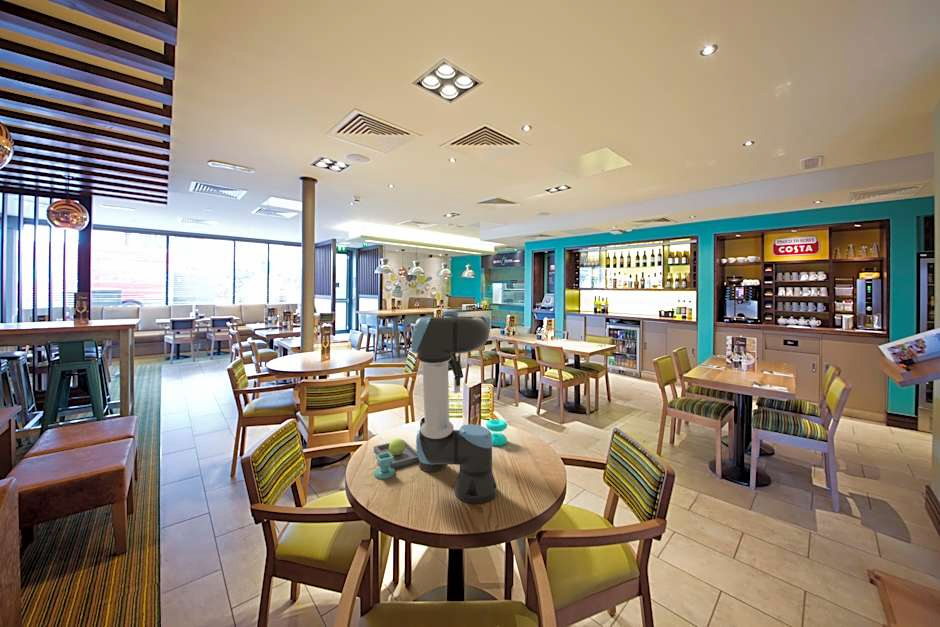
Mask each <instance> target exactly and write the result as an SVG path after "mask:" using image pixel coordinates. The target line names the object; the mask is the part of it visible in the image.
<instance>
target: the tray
mask: <svg viewBox="0 0 940 627" xmlns="http://www.w3.org/2000/svg"><path fill="white" fill-rule="evenodd" d="M402 440H403V441H404V443H405V450H404V452H403V453H402V454H400V455H393V454H391V452H390V451H389V444H390V442H387V443H383V444H378V445H374V446H373V453H375V454H376V455H378V454H382V453H387V452H389V453H390V454H391V455H392V456H393V457H394V460H392V465H390V466H389V467H392V468H394V469H395V470H396V469H398V468H402V467H406V466H410V465H413V464H417V463H418V464H419V462H420V460H419V458H418V455H417V450H416V449H414V448H413V447H412V446H411V445H410V444H409V443H407V441H405V440H404V439H402ZM376 455H375V456H376Z"/></svg>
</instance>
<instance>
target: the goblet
mask: <svg viewBox="0 0 940 627" xmlns="http://www.w3.org/2000/svg"><path fill="white" fill-rule="evenodd" d="M375 459H376V461H377V462H376V463H377V464H376V465H377V467H378V468H376V469H375V470H374V472H373V476H374V477H375V478H376V479H379V480H387V479H390V478H393V477H394V476H395V475H396V468H395V469H394V468H392V467H389V466H390V465H392V460H394V457H393V456H392V455H391V454H390V453H389V452H387V453H382V454H378V455H375Z"/></svg>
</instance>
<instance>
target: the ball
mask: <svg viewBox="0 0 940 627" xmlns="http://www.w3.org/2000/svg"><path fill="white" fill-rule="evenodd" d="M403 440H404V439H402V438H397V437H396V438H394V439H392V440H391V441H389V443H390V444H389V451H390V452H391V454H393V455H400V454H402V453H403V452H404V450H405V443H404V441H405V440H404V441H403Z"/></svg>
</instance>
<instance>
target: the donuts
mask: <svg viewBox="0 0 940 627" xmlns="http://www.w3.org/2000/svg"><path fill="white" fill-rule="evenodd" d="M507 423H508V422H506V421H505V420H503V419H498V418H495V419H490V420H488V421H487V422H486V424H485V425H486V429H488V430H489V431H490V432H491V434H492V443H493V446H496V447H500V446H503V445H505V444H506V443H507V442H508V441H507V440H508V438H507V436H506V435H504V434H502V433H501V432H504V431H505V430H507V427H508V424H507Z"/></svg>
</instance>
